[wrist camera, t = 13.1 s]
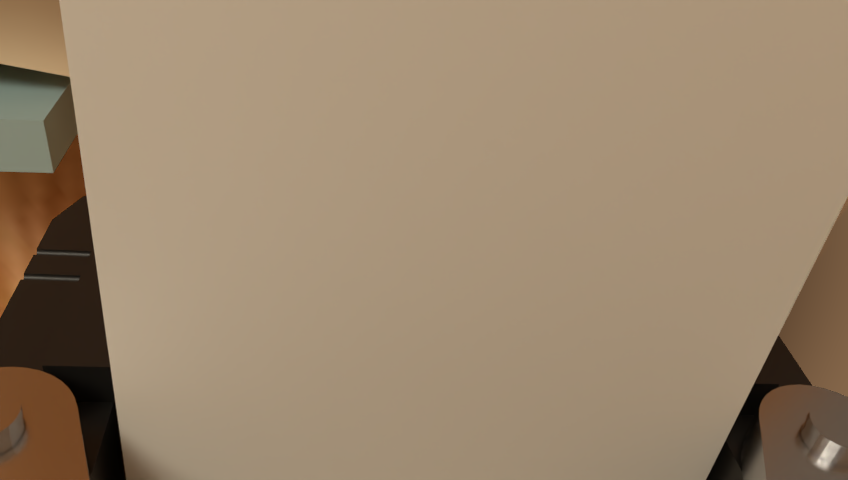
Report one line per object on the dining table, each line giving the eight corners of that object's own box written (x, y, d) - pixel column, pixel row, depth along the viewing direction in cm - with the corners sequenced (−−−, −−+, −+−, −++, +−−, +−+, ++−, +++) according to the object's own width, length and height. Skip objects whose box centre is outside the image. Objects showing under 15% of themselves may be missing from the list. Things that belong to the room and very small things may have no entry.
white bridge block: (472, 364, 17) (554, 783, 11) (237, 358, 16) (170, 801, 10) (615, -299, 10) (1074, -258, 4) (226, -358, 10) (-1, -432, 3)
